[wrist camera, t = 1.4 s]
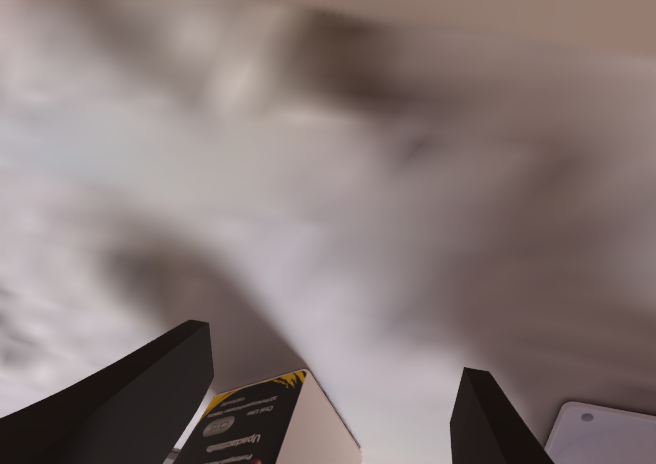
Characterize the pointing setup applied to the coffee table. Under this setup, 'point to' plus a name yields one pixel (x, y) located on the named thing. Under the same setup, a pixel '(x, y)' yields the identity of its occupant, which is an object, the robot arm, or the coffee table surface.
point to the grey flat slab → (170, 458)
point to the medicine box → (271, 426)
